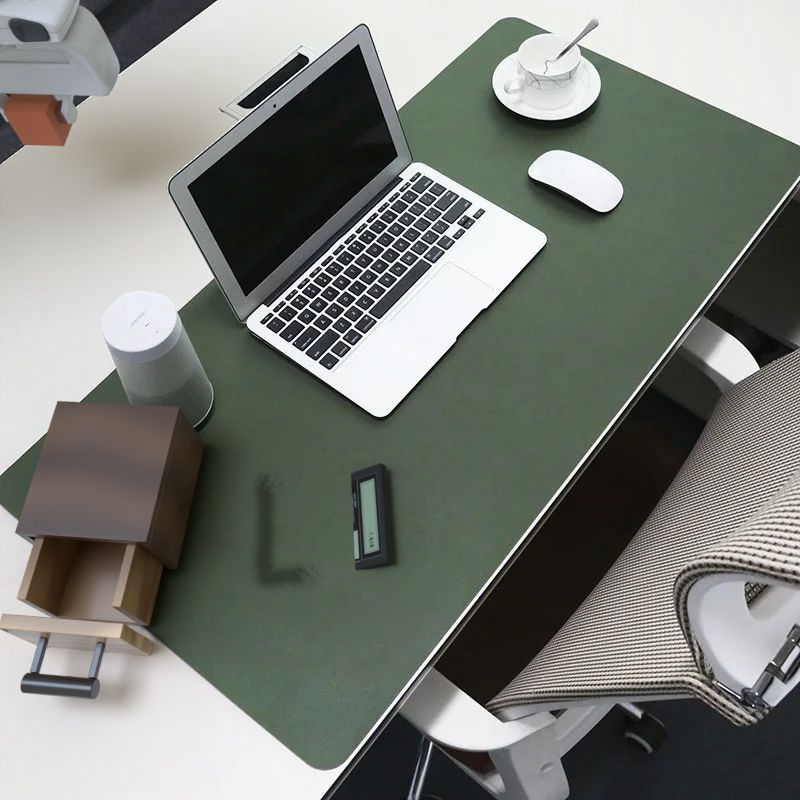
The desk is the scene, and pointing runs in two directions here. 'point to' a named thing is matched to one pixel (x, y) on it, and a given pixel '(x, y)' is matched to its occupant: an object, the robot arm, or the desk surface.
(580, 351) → the desk surface
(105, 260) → the desk surface
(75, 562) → the drawer
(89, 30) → the robot arm
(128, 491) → the cabinet
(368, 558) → the calculator
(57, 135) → the block
